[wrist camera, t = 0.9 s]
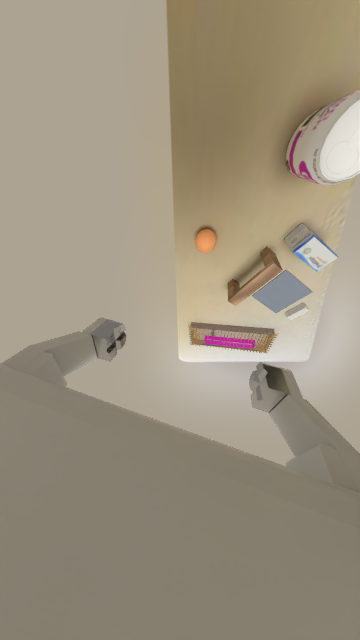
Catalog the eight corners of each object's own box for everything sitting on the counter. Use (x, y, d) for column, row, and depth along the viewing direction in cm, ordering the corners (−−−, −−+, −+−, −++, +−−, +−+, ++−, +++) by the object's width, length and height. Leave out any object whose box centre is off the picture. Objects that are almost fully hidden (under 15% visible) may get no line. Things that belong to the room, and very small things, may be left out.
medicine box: (323, 241, 38) (340, 257, 32) (304, 256, 41) (316, 273, 35) (301, 221, 36) (315, 234, 30) (283, 238, 39) (292, 253, 33)
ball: (204, 221, 40) (202, 228, 36) (221, 234, 41) (220, 242, 38) (192, 240, 44) (189, 247, 40) (208, 251, 45) (206, 260, 42)
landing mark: (286, 269, 44) (286, 270, 44) (312, 291, 47) (312, 292, 47) (251, 295, 53) (251, 296, 53) (275, 312, 56) (275, 313, 56)
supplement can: (306, 185, 32) (342, 199, 22) (274, 161, 30) (297, 164, 20) (354, 126, 26) (435, 110, 16) (318, 93, 24) (381, 52, 14)
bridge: (228, 283, 51) (227, 300, 45) (266, 246, 41) (273, 262, 35) (234, 288, 52) (235, 306, 46) (274, 253, 42) (282, 270, 36)
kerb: (302, 302, 51) (305, 307, 49) (306, 305, 51) (309, 310, 50) (284, 312, 55) (286, 317, 53) (288, 315, 56) (290, 320, 54)
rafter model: (191, 339, 79) (189, 349, 75) (189, 320, 69) (187, 330, 65) (266, 347, 72) (268, 359, 68) (276, 326, 61) (280, 339, 57)
